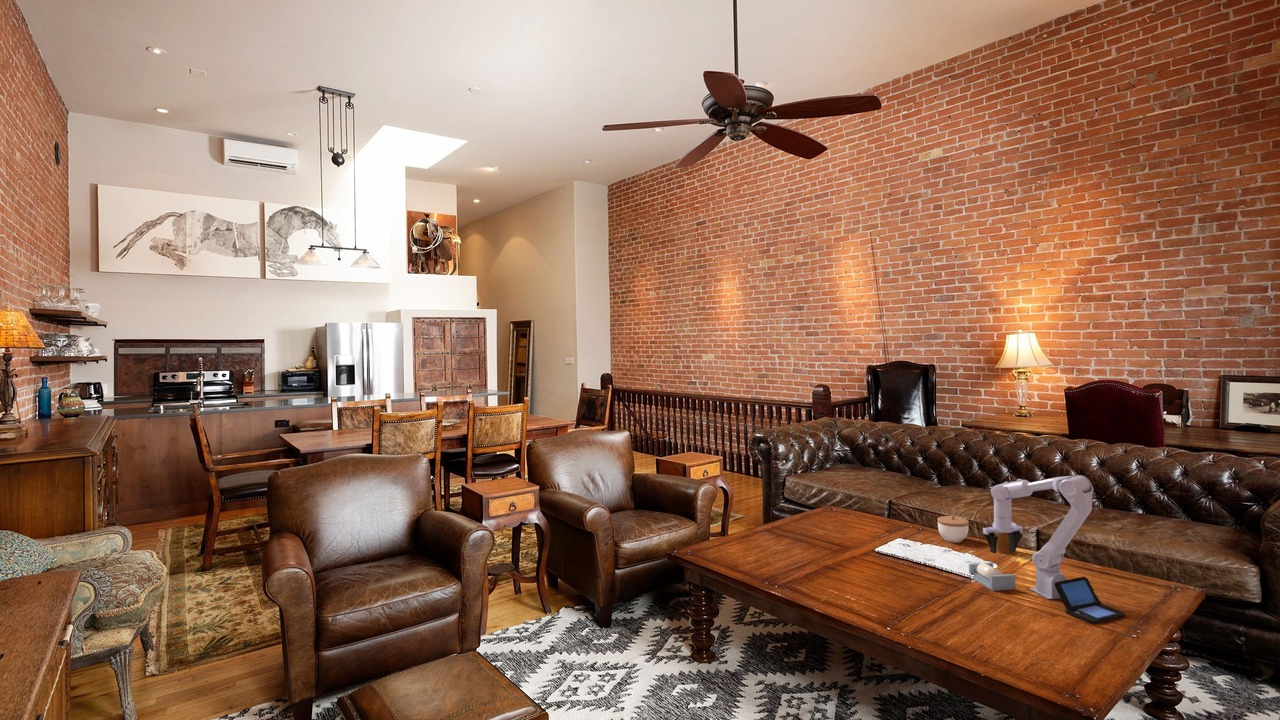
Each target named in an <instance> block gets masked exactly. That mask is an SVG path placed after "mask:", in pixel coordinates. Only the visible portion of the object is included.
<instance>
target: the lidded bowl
mask: <svg viewBox="0 0 1280 720" xmlns="http://www.w3.org/2000/svg"><path fill="white" fill-rule="evenodd" d="M969 523H970V522H969V519H966V518H963V517H960V516H955V514H954V515H953V514H952V515H943V516H942V515H941V516H939V517H937V528H938V532H939V534H940V535H941V537H942V538H943V540H944V541H946V542H950V543H961V542H963V540H965V539H966V538H967V536H968V534H969Z"/></svg>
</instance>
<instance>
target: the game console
mask: <svg viewBox="0 0 1280 720" xmlns="http://www.w3.org/2000/svg"><path fill="white" fill-rule="evenodd" d="M1055 588H1056V590H1057V592H1058V594H1059V596H1060V598H1061V599H1060V600H1061V602H1062V603H1063V606H1064V607H1065V613H1066V615H1070V616H1073V617H1074V618H1078V619H1079V620H1080V621H1081V620H1083V621H1084V622H1087V623H1089V624H1092V625H1095V624H1101V623H1105V622H1109V621H1114V620H1118V619H1121V618H1124V617H1125V616H1126V613H1125V612H1124V611H1121V610H1118V609H1116V608H1114V607H1110V606H1108V605H1105V604H1103V603H1102V601H1101V600H1099V598H1098V595H1097V594H1096V592H1095V589H1094V588H1093V586H1092V584H1091V582H1090V580H1089V579H1088V577H1086V576H1081V577H1076V578H1070V579H1067V580H1064V581H1059V582H1055Z"/></svg>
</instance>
